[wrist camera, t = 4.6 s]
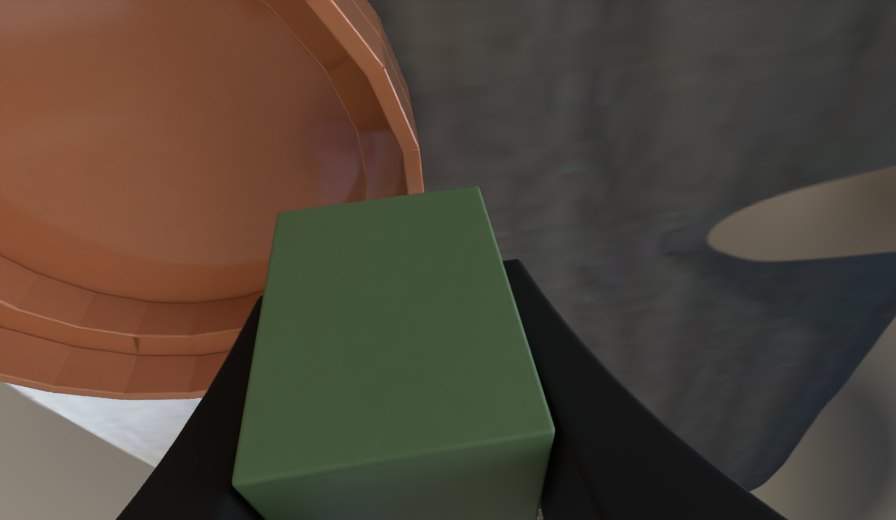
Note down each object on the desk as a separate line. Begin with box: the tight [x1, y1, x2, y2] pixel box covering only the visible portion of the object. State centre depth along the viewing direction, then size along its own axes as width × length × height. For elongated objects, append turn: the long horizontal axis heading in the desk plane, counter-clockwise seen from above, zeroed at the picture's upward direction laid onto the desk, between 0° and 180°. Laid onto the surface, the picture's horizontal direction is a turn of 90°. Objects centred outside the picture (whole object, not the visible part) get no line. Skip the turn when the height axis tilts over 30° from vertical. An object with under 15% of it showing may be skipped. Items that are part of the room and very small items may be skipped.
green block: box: [232, 186, 555, 520], centre depth 10 cm, size 4×4×6 cm
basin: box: [0, 0, 424, 400], centre depth 15 cm, size 18×18×4 cm
